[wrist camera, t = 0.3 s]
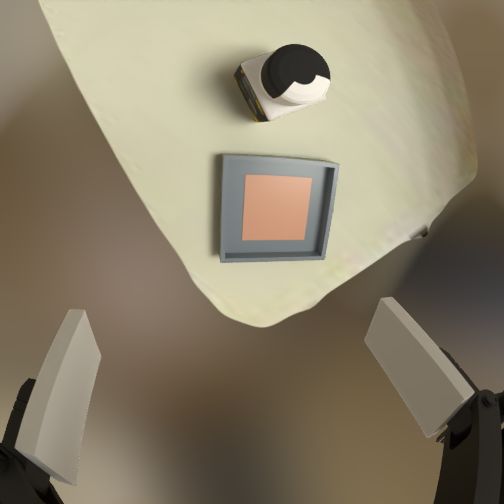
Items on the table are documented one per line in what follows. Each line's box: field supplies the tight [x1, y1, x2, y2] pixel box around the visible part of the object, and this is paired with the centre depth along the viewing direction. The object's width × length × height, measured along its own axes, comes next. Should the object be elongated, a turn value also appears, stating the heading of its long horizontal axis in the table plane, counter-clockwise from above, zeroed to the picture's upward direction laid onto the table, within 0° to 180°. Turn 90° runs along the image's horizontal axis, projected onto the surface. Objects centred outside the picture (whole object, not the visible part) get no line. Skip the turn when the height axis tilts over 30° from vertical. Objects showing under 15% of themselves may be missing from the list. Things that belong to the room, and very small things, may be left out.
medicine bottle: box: [234, 44, 330, 122], centre depth 25 cm, size 7×7×12 cm
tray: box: [219, 154, 339, 263], centre depth 36 cm, size 14×15×2 cm
